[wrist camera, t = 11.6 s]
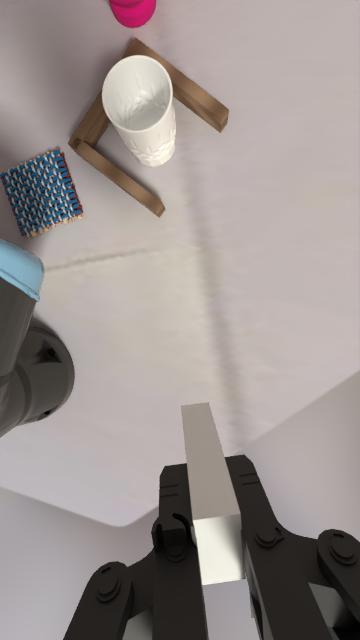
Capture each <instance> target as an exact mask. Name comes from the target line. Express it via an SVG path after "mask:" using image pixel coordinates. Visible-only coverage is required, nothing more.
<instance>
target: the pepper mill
mask: <svg viewBox="0 0 360 640" xmlns="http://www.w3.org/2000/svg"><path fill="white" fill-rule="evenodd" d="M109 1H110V4H111V7H112V10H113V13H114V16H115V17H116V19H117V20H118V21H119V22H120V23H121V24H122V25H124V26H126V27H130V28H135V27H140V26H142V25H144V24H145V23H146V22H147V21H149V20H150V18H151V17H152V15H153V13H154V10H155V6H156V0H109Z"/></svg>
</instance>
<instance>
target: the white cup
mask: <svg viewBox="0 0 360 640" xmlns="http://www.w3.org/2000/svg"><path fill="white" fill-rule="evenodd" d="M102 102H103V107H104V110H105V112H106V114H107V116H108V118H109V119H110V121H111V122H112V124H113V126H114V127H115V129H116V130H117V132H118V134H119V135H120V137H121V138H122V140H123V141H124V143H125V144H126V146H127V147H128V149H129V150H130V151H131V153H132V154H133V156H134V157H135V158H136V159H137V160H138V161H139V162H140V163H141V164H143V165H147V166H150V167H154V166H159V165H162V164H163V163H165V162H166V161H168V160H169V159H170V158H171V156H172V154H173V152H174V150H175V145H176V125H175V111H174V101H173V90H172V83H171V79H170V77H169V75H168V73H167V71H166V69H165V68H164V67H163V66H162V65H161V64H160V63H159V62H158V61H156V60H155V59H153V58H151V57H148V56H144V55H134V56H129V57H126V58H124V59H122V60H120V61H119V62H118V63H116V64H115V65H114V66H113V67H112V68H111V70H110V71H109V73H108V74H107V76H106V78H105V81H104V84H103V89H102Z"/></svg>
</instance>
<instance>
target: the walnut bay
mask: <svg viewBox="0 0 360 640" xmlns="http://www.w3.org/2000/svg"><path fill="white" fill-rule="evenodd" d="M134 55H144V56H148V57H151V58H153V59H155V60H156V61H158V62H159V63H160V64H161V65H162V66H163V67H164V68H165V69H166V71H167V73H168V75H169V77H170V79H171V83H172V90H173V97H175V98H176V99H177V100H179V101H180V102H181V103H183V104H184V105H185V106H186V107H188V108H189V109H190V110H192V111H193V112H194V113H195V114H197V115H198V116H199V117H201V118H202V119H203V120H205V121H206V122H207V123H208V124H210V125H211V126H212V127H214V128H215V129H216V130H217V131H219V132H220V133H221V131H222V130H223V128H224V127H225V126H226V124H227V120H228V113H229V109H228V108H226V107H225V106H224V105H222V104H221V103H220V102H219V101H217V100H216V99H215V98H213V97H212V96H211V95H209V94H208V93H207V92H206V91H204V90H203V89H202V88H200V87H199V86H198V85H196V84H195V83H194V82H193V81H191V80H190V79H189V78H187V77H186V76H185V75H184V74H182V73H181V72H180V71H178V70H177V69H176V68H174V67H173V66H172V65H171V64H169V63H168V62H167V61H165V60H164V59H163V58H162V57H160V56H159V55H158V54H156V53H155V52H154V51H152V50H151V49H150V48H149V47H147V46H146V45H145V44H143V43H142V42H141V41H139V40H138V39H137V38H136V37H135V39H134V40H133V42H132V43H131V45H130V46H129V48H128V50H127V51H126V53H125V54H124V56H123V57H122V59H124V58H126V57H129V56H134ZM122 59H121V60H122ZM110 122H111V121H110V119H109V118H108V116H107V114H106V112H105V110H104V107H103V102H102V90H101V92H100V94H99V95H98V97H97V98H96V100H95V101H94V103H93V105H92V106H91V108H90V109H89V111H88V112H87V114H86V116H85V117H84V119H83V120H82V122H81V123H80V125H79V127H78V128H77V130H76V131H75V133H74V134H73V136H72V138H71V139H70V141H69V142H68V144H69V146H70V147H71V148H72V149H73V150H74V151H75V152H76V153H77V154H78V155H79V156H80V157H82V158H83V159H84V160H86V161H87V162H88V163H89V164H91V165H92V166H93V167H95V168H96V169H97V170H99V171H100V172H101V173H102V174H104V175H105V176H106V177H108V178H109V179H110V180H111V181H113V182H114V183H115V184H117V185H118V186H119V187H120V188H122V189H123V190H124V191H126V192H127V193H128V194H129V195H131V196H132V197H133V198H135V199H136V200H137V201H139V202H140V203H141V204H142V205H144V206H145V207H146V208H148V209H149V210H150V211H151V212H153V213H154V214H155V215H157V216H158V217H159V218H160V216H161V215H162V213H163V212H164V211H165V207H164V205H163V203H162V202H161V201H159V200H158V199H157V198H156V197H154V196H153V195H152V194H150V193H149V192H148V191H147V190H145V189H144V188H143V187H141V186H140V185H139V184H138V183H136V182H135V181H134V180H132V179H131V178H130V177H128V176H127V175H126V174H125V173H123V172H122V171H121V170H119V169H118V168H117V167H116V166H114V165H113V164H112V163H110V162H109V161H108V160H107V159H105V158H104V157H103V156H101V155H100V154H99V153H97V152H96V151H95V150H94V149H93V148H94V146H95V145H96V143H97V142H98V140H99V139H100V137H101V136H102V134H103V133H104V131H105V130H106V128H107V127H108V125H109V123H110Z"/></svg>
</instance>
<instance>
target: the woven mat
mask: <svg viewBox="0 0 360 640" xmlns="http://www.w3.org/2000/svg"><path fill="white" fill-rule="evenodd" d="M47 153H48V154H47V156H46V154H44V156H43V158H40V157H39V156H37V157H38V159H37V160H36V158H35V159H34V161H32V160H31V159H30V161H31V162H30V161H29V162H28V163H27V162H25V165H23V164H22V163H20V164H21V166H20V167H19V165H18V166H17V168H16V169H14V168H13V167H11V168H12V169H11V170H10V169H8V172H6V170H4V171H5V172H3V173H2V174H1V175H0V176H1V177H0V178H1V180H2V182H3V185H5V186H4V187H5V190H6V194H7V195H8V198H9V202H10V205H11V206H12V210H13V213H14V216H16V217H15V218H16V219H17V220H18V221H17V224H18V226H20V227H19V229H20V232H21V235H22V236H24V235H26V236H27V238H28V239H30V235H29V234H31V235H32V236H33V237H34V236H36V235H37V234H36V232H37V231H38V230H39V232H40V234H43V230H42V229H43V228H44V231H46V232H47V231H48V230H49V227H48V226H51V227H52V228H53V227H56V226H55V224H56V223H58V224H59V225H61V224H62V222H64V223H65V224H68V223H69V221H68V220H69V219H70V218H71V220H72V222H74V221H75V220H74V216H77V218H79V219H81V218H82V214H81V213H83V211H82V210H80V208H82V205H81V206H79V205H78V203H80V202H79V200H77V199H76V198H78V196H77V195H75V192H76V191H75V189H74V188H75V185H72V186H71V182H72V179H70V178H69V177H71V176H70V174H68V173H67V172H69V170H68V169H67V168H66V166H67V164H66V163H64V161H65V158H63V157H64V153H61V155H60V150H57V151H55V152H54V153H53V151H51V154H50V153H49V151H48V152H47ZM49 185H50V186H49ZM53 195H54V196H53ZM68 195H69V196H68ZM11 200H12V201H11ZM15 210H16V211H15ZM30 210H31V211H30ZM59 210H61V211H59ZM75 210H76V211H75ZM37 213H38V214H37ZM51 213H52V214H51ZM67 213H68V214H67ZM45 216H46V217H45ZM60 216H61V217H60ZM34 226H35V227H34ZM23 230H24V231H23Z"/></svg>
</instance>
